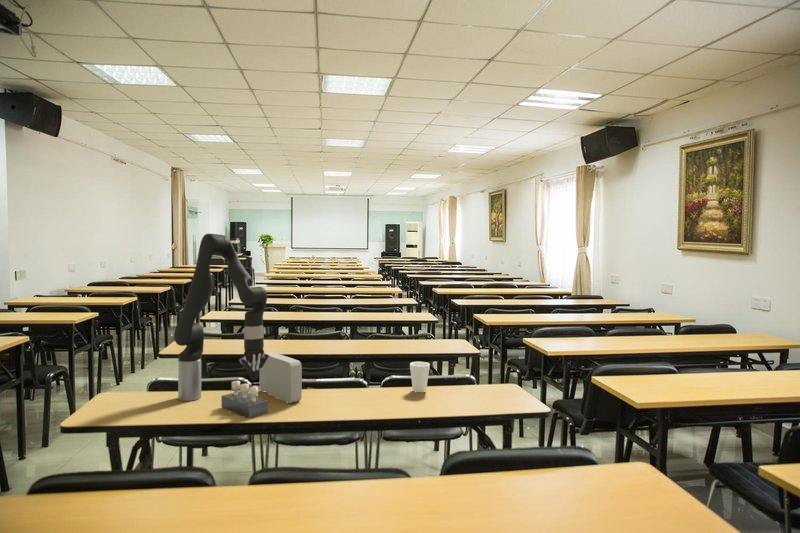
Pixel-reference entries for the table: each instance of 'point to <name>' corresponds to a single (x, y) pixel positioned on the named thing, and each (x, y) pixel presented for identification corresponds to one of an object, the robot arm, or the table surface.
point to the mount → (244, 405)
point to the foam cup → (419, 375)
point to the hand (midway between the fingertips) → (254, 379)
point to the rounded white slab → (282, 377)
